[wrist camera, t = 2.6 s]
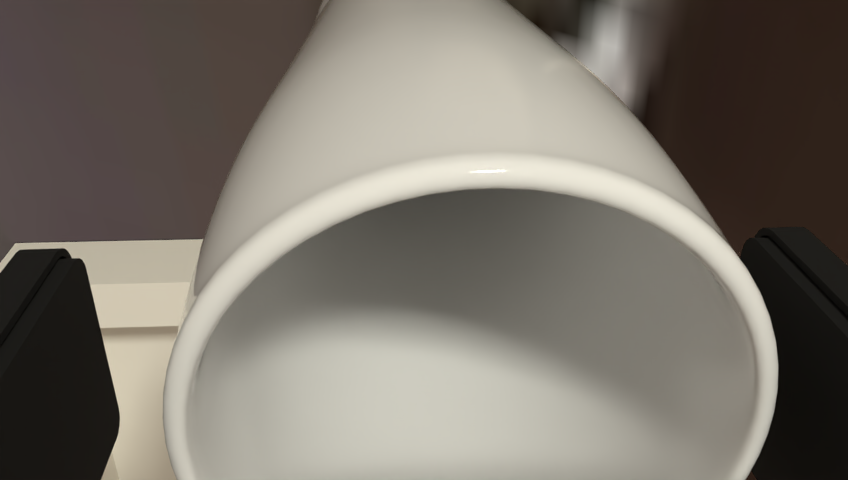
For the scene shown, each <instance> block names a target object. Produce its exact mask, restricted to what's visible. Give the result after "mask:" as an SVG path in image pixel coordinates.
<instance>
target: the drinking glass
mask: <svg viewBox="0 0 848 480" xmlns="http://www.w3.org/2000/svg"><path fill="white" fill-rule="evenodd" d="M778 365H779V364H778V355H777V346H776V339H775V335H774V331H773V327H772V322H771V318H770V315H769V312H768V310H767V307H766V305H765V302H764V300H763V297H762V295H761V292H760V290H759V288H758V287H757V285H756V283H755V281H754V280H753V278H752V276H751V274H750V273H749V271H748V269H747V267H746V266H745V265H744V263H743V262H742V261H741V259H740V258H739V257H738V256H737V254H736V253H735V251H734V250H733V248H732V247H731V245H730V244H729V242H728V240H727V239H726V237H725V236H724V234H723V233H722V231H721V230H720V228H719V227H718V225H717V223H716V222H715V220H714V219H713V217H712V216H711V214H710V213H709V211H708V210H707V208H706V207H705V205H704V204H703V202H702V201H701V200H700V198H699V197H698V195H697V194H696V192H695V191H694V190H693V188H692V187H691V185H690V184H689V183H688V181H687V180H686V179H685V177H684V176H683V175H682V173H681V172H680V170H679V169H678V168H677V166H676V165H675V164H674V162H673V161H672V160H671V158H670V157H669V156H668V155H667V153H666V152H665V151H664V149H663V148H662V147H661V146H660V144H659V143H658V142H657V140H656V139H655V138H654V137H653V135H652V134H651V133H650V132H649V131H648V129H647V128H646V127H645V126H644V125H643V124H642V122H641V121H640V120H639V119H638V118H637V117H636V116H635V115H634V113H633V112H632V111H631V110H630V109H629V108H628V107H627V106H626V105H625V104H624V103H623V102H622V101H621V100H620V99H619V98H618V97H617V95H616V94H615V93H614V92H613V91H612V90H611V89H610V88H609V87H608V86H607V85H606V84H605V83H604V82H603V81H602V80H600V79H599V78H598V77H597V76H596V75H595V74H594V73H593V72H592V71H591V70H589V69H588V68H587V67H586V66H585V65H584V64H582V63H581V62H580V61H579V60H578V59H577V58H575V57H574V56H573V55H572V54H571V53H569V52H568V51H567V50H566V49H565V48H563V47H562V46H561V45H560V44H558V43H557V42H556V41H555V40H553V39H552V38H551V37H550V36H549V35H547V34H546V33H545V32H544V31H542V30H541V29H540V28H539V27H537V26H536V25H535V24H534V23H532V22H531V21H530V20H529V19H527V18H526V17H525V16H524V15H522V14H521V13H520V12H519V11H518V10H516V9H515V8H514V7H513V6H512V5H510V4H509V3H508V2H507V1H506V0H323V1H322V3H321V5H320V8H319V10H318V12H317V15H316V18H315V21H314V25H313V27H312V29H311V31H310V32H309V34H308V36H307V38H306V39H305V41H304V42H303V44H302V46H301V47H300V49H299V51H298V52H297V54H296V55H295V57H294V59H293V60H292V62H291V64H290V65H289V67H288V68H287V70H286V71H285V73H284V75H283V76H282V78H281V79H280V81H279V83H278V84H277V86H276V87H275V89H274V90H273V92H272V94H271V95H270V97H269V98H268V100H267V102H266V103H265V105H264V107H263V108H262V110H261V112H260V114H259V115H258V117H257V119H256V120H255V122H254V124H253V126H252V127H251V129H250V131H249V133H248V134H247V136H246V138H245V140H244V142H243V144H242V146H241V148H240V150H239V152H238V153H237V156H236V158H235V160H234V162H233V165H232V167H231V169H230V171H229V174H228V176H227V178H226V181H225V183H224V185H223V188H222V190H221V192H220V195H219V197H218V200H217V202H216V205H215V207H214V210H213V213H212V215H211V218H210V221H209V224H208V227H207V230H206V232H205V236H204V239H203V242H202V245H201V248H200V251H199V255H198V258H197V261H196V265H195V268H194V272H193V275H192V278H191V282H190V285H189V289H188V292H187V296H186V300H185V304H184V307H183V311H182V315H181V319H180V323H179V327H178V331H177V335H176V339H175V342H174V345H173V348H172V352H171V355H170V359H169V362H168V365H167V371H166V377H165V384H164V390H163V426H164V435H165V443H166V447H167V451H168V455H169V459H170V463H171V466H172V469H173V471H174V474H175V477H176V479H177V480H746V478H747V477H748V475H749V473H750V472H751V470H752V468H753V466H754V464H755V462H756V460H757V459H758V457H759V455H760V452H761V450H762V447H763V445H764V443H765V440H766V438H767V435H768V432H769V429H770V425H771V422H772V418H773V414H774V411H775V404H776V398H777V391H778Z"/></svg>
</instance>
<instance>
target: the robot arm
mask: <svg viewBox="0 0 848 480" xmlns="http://www.w3.org/2000/svg"><path fill="white" fill-rule="evenodd" d="M740 259H741V261H742V262H743V263H744V265H745V266H746V267H747V269H748V271H749V273H750V274H751V276H752V278H753V280H754V281H755V283H756V285H757V287H758V288H759V290H760V292H761V295H762V297H763V300H764V302H765V305H766V307H767V310H768V312H769V315H770V318H771V322H772V327H773V331H774V335H775V339H776V346H777V355H778V364H779V365H778V391H777V398H776V404H775V411H774V414H773V418H772V422H771V425H770V429H769V432H768V435H767V438H766V440H765V443H764V445H763V447H762V450H761V452H760V455H759V457H758V459H757V460H756V462H755V464H754V466H753V468H752V470H751V471H752V472H753V474H754V475H755V477H756V479H757V480H848V266H847V265H846V264H845V263H844V262H843V261H841V260H840V259H839V258H838V257H837V256H836V255H835V254H834V253H833V252H832V251H831V250H829V249H828V248H827V247H826V246H825V245H824V244H823V243H822V242H821V241H820V240H819V239H818V238H816V237H815V236H814V235H813V234H812V233H811V232H810V231H809V230H807V229H806V228H804V227H780V228H762V229H761V230H759V231H758V233H757V234H756V235H755V238H749V239H748V240H747V241H746V242H745V244H744V246H743V249H742V253H741V258H740ZM119 426H120V413H119V407H118V403H117V398H116V394H115V390H114V385H113V381H112V377H111V372H110V368H109V364H108V360H107V355H106V351H105V347H104V342H103V338H102V334H101V330H100V325H99V321H98V317H97V312H96V308H95V304H94V299H93V295H92V291H91V287H90V282H89V278H88V274H87V269H86V266H85V264H84V262H83V260H82V259H80V258H71V255H70V254H69V252H68V251H67V250H66V249H64V248H56V249H23V250H19V251H18V252H16V253H15V254H14V256H13V257H12V258H11V260H10V261H9V262H8V264H7V265H6V266H5V267H4V269H3V270H2V271H1V273H0V480H101V478H102V476H103V473H104V471H105V468H106V465H107V463H108V460H109V457H110V455H111V452H112V450H113V447H114V444H115V442H116V439H117V436H118V433H119Z"/></svg>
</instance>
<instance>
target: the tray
mask: <svg viewBox="0 0 848 480" xmlns="http://www.w3.org/2000/svg"><path fill="white" fill-rule="evenodd" d="M202 242H203V239H195V240H147V241H99V242H51V243H15V245H14V246H13V247H12V249H11V250H10V251H9V252H8V254H7V255H6V256H5V258H4V259H3V260H2V261H1V263H0V273H1V271H2V270H3V269H4V267H5V266H6V265H7V264H8V262H9V261H10V260H11V258H12V257H13V256H14V254H15V253H16V252H18V251H19V250H23V249H56V248H64V249H66V250H67V251H68V252H69V254H70V255H71V258H80V259H82V260H83V262H84V264H85V266H86V269H87V274H88V278H89V282H90V287H91V291H92V295H93V299H94V304H95V308H96V312H97V317H98V321H99V325H100V330H101V334H102V338H103V342H104V347H105V351H106V355H107V360H108V364H109V368H110V372H111V377H112V381H113V385H114V390H115V394H116V398H117V403H118V407H119V413H120V426H119V433H118V436H117V439H116V442H115V444H114V447H113V450H112V452H111V455H110V457H109V460H108V463H107V465H106V468H105V471H104V473H103V476H102V478H101V480H177V479H176V477H175V474H174V471H173V469H172V466H171V463H170V459H169V455H168V451H167V447H166V443H165V435H164V426H163V390H164V384H165V377H166V371H167V365H168V362H169V359H170V355H171V352H172V348H173V345H174V342H175V339H176V335H177V331H178V327H179V323H180V319H181V315H182V311H183V307H184V304H185V300H186V296H187V292H188V289H189V285H190V282H191V278H192V275H193V272H194V268H195V265H196V261H197V258H198V255H199V251H200V248H201V245H202Z"/></svg>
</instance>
